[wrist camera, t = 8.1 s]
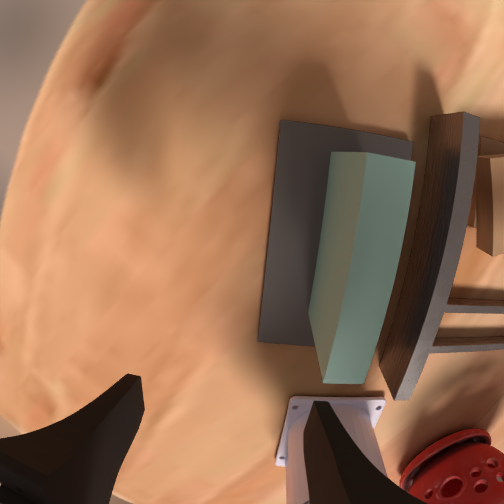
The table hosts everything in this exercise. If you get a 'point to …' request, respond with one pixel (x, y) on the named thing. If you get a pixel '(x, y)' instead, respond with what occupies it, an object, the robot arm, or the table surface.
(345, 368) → the teal board
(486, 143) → the offcut lower
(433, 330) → the rack
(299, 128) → the mat
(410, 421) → the table surface
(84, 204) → the table surface
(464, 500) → the plant pot
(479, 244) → the offcut upper
